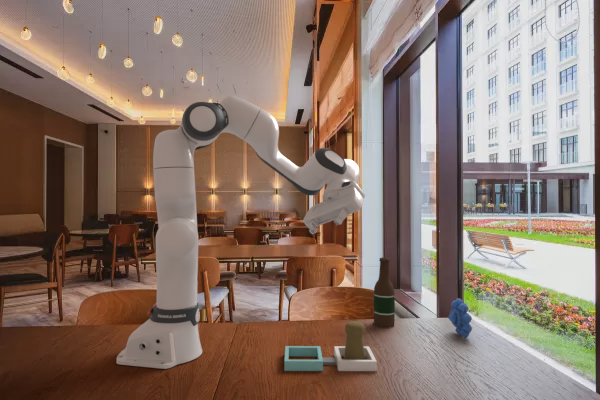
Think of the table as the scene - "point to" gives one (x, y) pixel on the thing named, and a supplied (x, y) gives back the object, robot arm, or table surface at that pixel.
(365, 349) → the white socket
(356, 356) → the olive pawn
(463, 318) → the grapes
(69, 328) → the table surface
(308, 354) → the teal socket
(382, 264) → the beer bottle
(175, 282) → the robot arm
